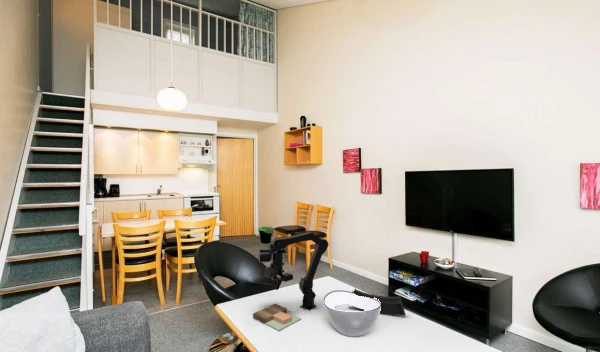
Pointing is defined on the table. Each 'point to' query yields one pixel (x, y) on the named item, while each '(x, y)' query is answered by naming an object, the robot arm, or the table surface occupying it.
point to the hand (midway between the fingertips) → (277, 289)
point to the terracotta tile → (282, 318)
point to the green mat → (280, 326)
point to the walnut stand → (268, 313)
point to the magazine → (386, 303)
